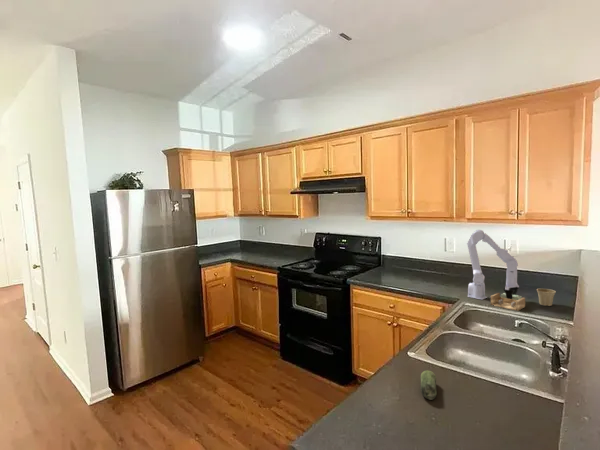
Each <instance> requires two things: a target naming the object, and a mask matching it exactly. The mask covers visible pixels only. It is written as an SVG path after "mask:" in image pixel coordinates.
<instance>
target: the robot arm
mask: <svg viewBox="0 0 600 450" xmlns="http://www.w3.org/2000/svg"><path fill="white" fill-rule="evenodd" d="M481 240H482V243H487V244H488V245H489V246H490V247H491V248H492V249H494V251H496V256H497V257H498V258H499V259H500V260H502V262H503V263H504V264H506V277H505V287H504V288H503V291H504V293H506V297H507V298H508V299H512V295H517V293H518V291H519V290H520V285H519V284H518V266H519V265H518V261H517V259H516V258H515V257H514V256H512V255H511V254H510V253H509V250H507V249H505V248H501V247H500V246H499V245H498V244H497V243H496V241H494V240H493V238H492V237H491V236H490V235H488V233H486V232H484V230H482V229H476V230H475V231H473V232H472V234H470V236H469V239H468V241H467V243H466V245H467V250H468V254H469V258H470V263H471V266H472V267H471V268H472V274H473V278H472V282H469V283H468V287H467V297H468V298H471V299H477V300H485V299H486V298H487V299H488V296H486V284H485V277H486V276H485V275H484V274H483V271H482V268H481V267H482V266H481V263H480V258H479V255H478V250H477V244H479V242H481Z"/></svg>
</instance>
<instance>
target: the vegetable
mask: <svg viewBox="0 0 600 450" xmlns="http://www.w3.org/2000/svg"><path fill="white" fill-rule="evenodd" d="M420 391H421V392H420V393H421V395H422V397H424V398H425V399H427V400H430V401H431V400H432V401H433V400H435V399H436V397H437V395H438V394H437V377H436V375H435V373H434V372H433V371H431V370H427V369H425V370H424V371H422V372H421V374H420Z"/></svg>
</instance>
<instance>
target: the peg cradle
mask: <svg viewBox="0 0 600 450" xmlns="http://www.w3.org/2000/svg"><path fill="white" fill-rule="evenodd" d="M493 305H494V306H493ZM490 306H493V307H498V308H499V307H500V308H503V309H509V310H512V311H517V312H519V311H521V310H522V309H523V308H524V309H525V307H526V297H522V298H521V299H519V300H513V299H508V298H503V297H501V292H496V293H494V294H492V295H490Z"/></svg>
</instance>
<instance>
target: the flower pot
mask: <svg viewBox="0 0 600 450" xmlns="http://www.w3.org/2000/svg"><path fill="white" fill-rule="evenodd" d="M536 292H537V295H538V303H539V305H541V306H549V307H550V306H553V302H554V297H555V295H556V292H557V291H556V290H555V289H554V290H553V289H550V288H537V289H536Z"/></svg>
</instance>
